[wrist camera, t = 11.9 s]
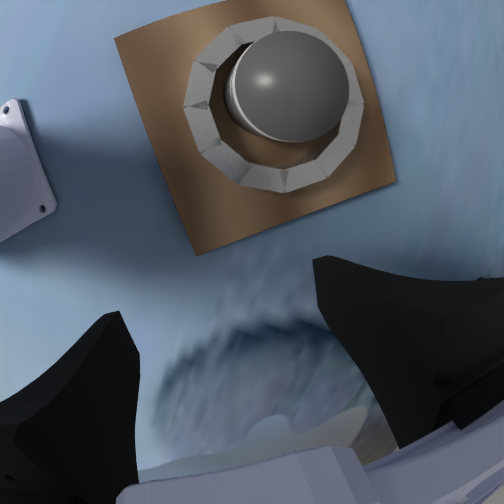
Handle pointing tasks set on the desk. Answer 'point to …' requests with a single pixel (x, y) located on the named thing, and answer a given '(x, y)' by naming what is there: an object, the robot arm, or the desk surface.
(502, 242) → the desk surface
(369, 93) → the walnut board
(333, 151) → the mount ring
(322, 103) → the charcoal lens
